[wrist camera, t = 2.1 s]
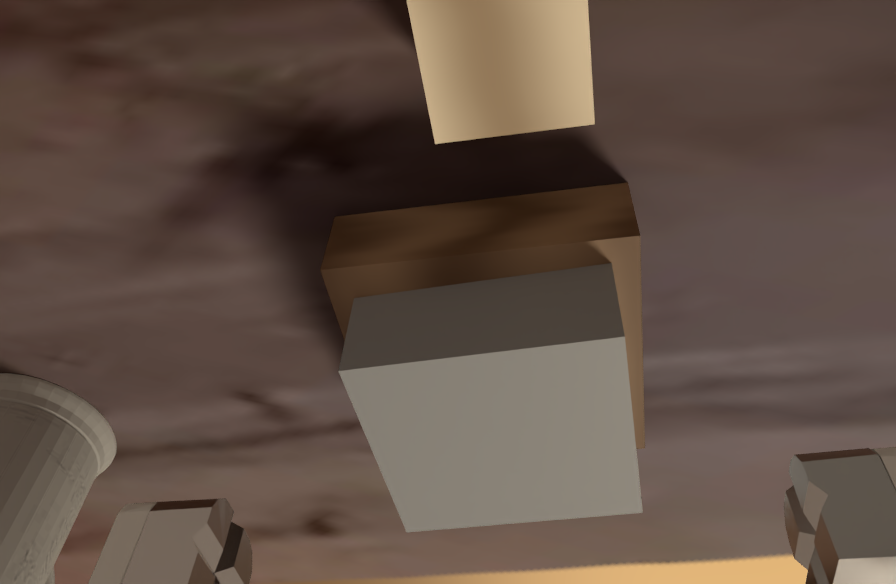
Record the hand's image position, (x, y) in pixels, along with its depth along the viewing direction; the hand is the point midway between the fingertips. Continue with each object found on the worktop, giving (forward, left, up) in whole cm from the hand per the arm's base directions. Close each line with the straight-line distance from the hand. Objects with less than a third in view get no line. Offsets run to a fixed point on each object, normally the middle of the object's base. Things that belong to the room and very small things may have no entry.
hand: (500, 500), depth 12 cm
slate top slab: (+2, +14, -17) cm, 22 cm away
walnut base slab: (+2, +14, -21) cm, 25 cm away
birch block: (0, 0, -20) cm, 20 cm away
